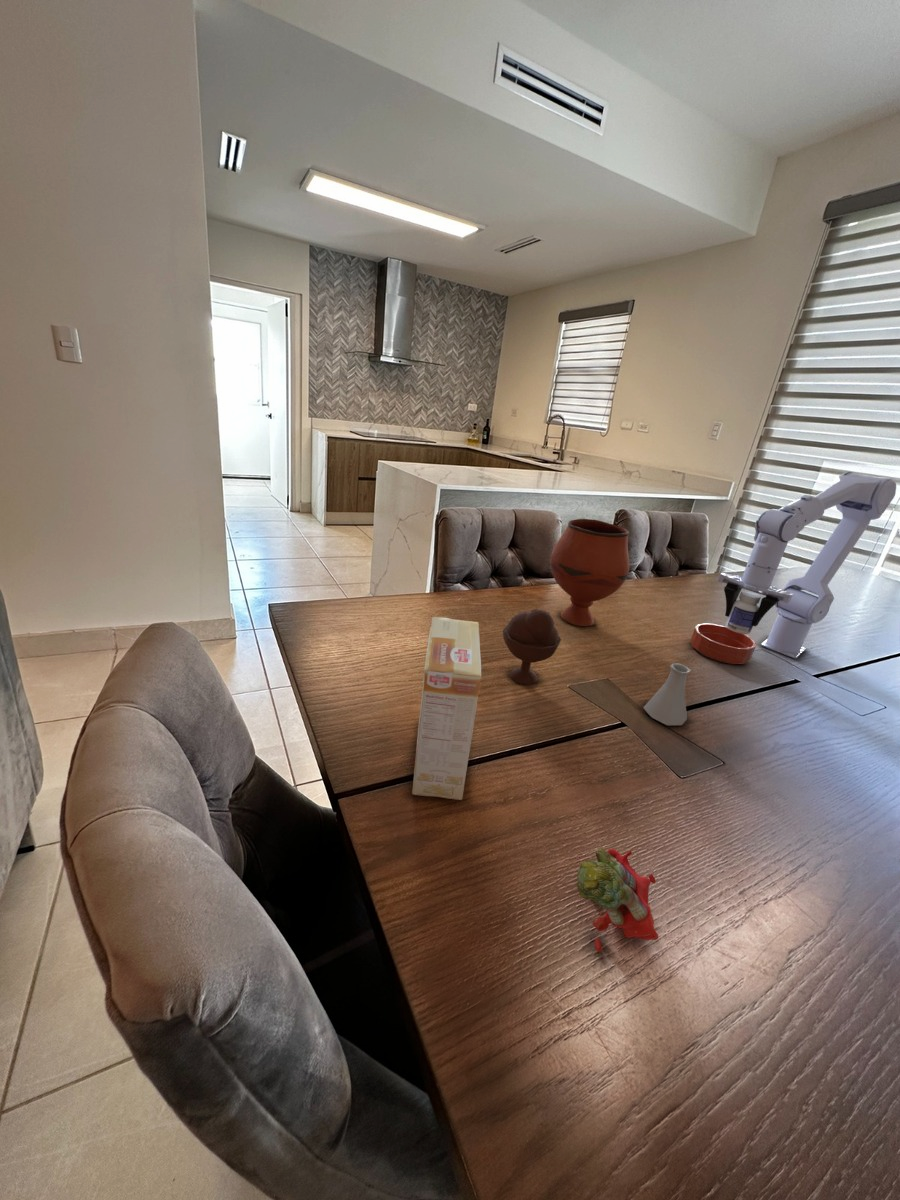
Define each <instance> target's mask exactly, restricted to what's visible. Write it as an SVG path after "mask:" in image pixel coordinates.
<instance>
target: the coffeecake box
mask: <svg viewBox="0 0 900 1200" xmlns="http://www.w3.org/2000/svg"><path fill="white" fill-rule="evenodd" d="M481 680H482V660H481V641H480V625H479V622H478V621H470V620H460V619H456V618H455V619H453V618H449V617H442V616H432V618H431V622H430V627H429V634H428V642H427V648H426V655H425V660H424V670H423V679H422V688H421V698H420V709H419V719H418V728H417V737H416V749H415V760H414V770H413V781H412V791H411V794H412V795H414V796H421V797H422V796H424V797H436V798H442V799H450V800H460V801H462V800H463V796H464V789H465V783H466V776H467V771H468V770H467V769H468V764H469V757H470V756H469V755H470V751H471V746H472V739H473V731H474V726H475V719H476V714H477V713H476V712H477V706H478V700H479V693H480V687H481Z"/></svg>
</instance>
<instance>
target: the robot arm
mask: <svg viewBox="0 0 900 1200" xmlns="http://www.w3.org/2000/svg"><path fill="white" fill-rule="evenodd" d="M896 492H897V483H896V480H895V479H894V478H893V477H880V476H876V475H875V476H873V475H867V474H861V473H854V472H852V471H845V472H843V473H841V474H840V475H837V476H836V478H835V479H834V481H833V483H832V485H831V486H829V487H827V488H826V489H824V490H823V491H821V492H819V493H818V494H816V495H811V494H810V495H808V494H804V495H801V496H800V498H798V499H796V500H794V501H792V502H791V503H788V504H786V505H785V506H783V507H780V508H779V509H775V508H771V509H768V510H764V512H762V513H761V514H760V515H759V516H758V519H756V520H755V525H754V531H755V534H754V537H753V541H754V545H753V547H752V550H751V553H750V555H749V558H748V560H747V563H746V565H745V569H744V571H743V574H742V576H739V575H735V574H731V573H730V574H729V573H726V572H721V573H719V576H718V579H717V582H719V583H722V584H723V583H724V584H726V585H725V586H724V587H723V591H724V597H725V614H724V616H725V617H727V618H728V617H729V615H730V612H731V609H732V606H733V604H734V602H735V601H736V600H738V599H739V598H738V597H739V596H740V594H741V592H742V589H743V590H746V591H748V592H751V593H754V594H758V595H762V596H764V597H762V598H761V599H760V602H759V603H760V604H759V610H758V613H757V615H756V617H755V619H754V621H753V623H752V626H753V627H757V626H758V625H759V624H760V622H761V620H762V619H763V617H764V616H765V615H766V614H768V612H769V611H770V610H771V609H772V608H773V607H776V610H775V612H776V613H778V614H777V616H776V619H775V621H774V623H773V626H772V627H771V629H770V633H769V634H768V637H767V638H766V639H765V640H764V641H762V642H761V643H760V646H761V647H764V648H766V649H769V650H772V651H774V652H776V653H779V654H781V655H785V656H787V657H789V658H792V659H798V658H799V657H800V656H801V655H802V653H803V652H805V651H806V647H805V646H803V645H804V643H805V641H806V638H807V636H808V634H809V633H810V630H811V628H812V626H813V624H817V623H819V622H821V621H822V620H824V619H825V618H826V616H827V615H828V614H829V611H830V609H831V605H832V603H833V602H834V600H835V597H834V594H833V592H832V591H831V588H830V587H829V585H830V582H831V581H832V580H833V578H834V577H835V576H836V574H837V573H838V571H839V570H840V568H841V567H842V565H843V563H844V562H845V561H846V560H847V557H848V556H849V555H850V553H851V551H852V550H853V549H854V548H855V546H856V544H857V543H858V541H859V540H860V538H861V537H862V535H863V534H864V533H865V531H866V529H867V528H868V526H869V525H870V524H871V522H872V521H873V520H877V519H878V520H879V519H880V518H881V517H882V515H883V514H884V513H885V511H886V510H887V509H888V507H889V506H890V504H891V503H892V501H893V500H894V498H895V496H896V494H897V493H896ZM833 507H836V510H837V511H839V512H840V513H841V515H842V518H841V519H840V521H839V523H838V524H837V526H836V527H835V529H834V530H833V532H832V533H831V534H830V536H829V538H828V539H827V540H826V542H825V544H824V545H823V547H822V548H821V550H820V552H819V553H818V554H817V556H816V557H815V559H814V560H813V562H812V564H811V565H810V566H809V568H808V570H807V571H806V573H805V574H804V575H803V576H801V577H800V576H799V577H797V578H792V579H789V580H788V582H787V583H786V584H785V586H783V588H778V587H775V586H773V585H772V583H773V580H774V578H775V576H776V573H777V570H778V569H779V565H780V563H781V561H782V558H783V556H784V554H785V551H786V548H787V546H788V543H789V542H790V541H793V540H794V539H795V538H797V536H798V535H799V534H800V533H801V531H803V529H805V527H806V526H809V525H810V524H812V523H814V522H816V521H817V520H820V519H821V518H822V517H823V516H824V514H825V511H826V510H829V509H830V508H833Z"/></svg>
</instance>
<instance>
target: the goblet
mask: <svg viewBox="0 0 900 1200" xmlns="http://www.w3.org/2000/svg"><path fill="white" fill-rule="evenodd" d="M629 535H630V531H629V530H628V529H626V528H625V527H622V526H618V525H616V524H613V523H609V522H605V521H602V520H598V519H591V518H589V519H588V518H577V519H571V520H569V521H568V523H567V527H566V528H565V530H564V531H563V533H561V535H560V537H559V538H558V540H557V542H556V544H555V546H554V547H553V550H552V552H551V555H550V562H549V563H550V570H551V574H552V576H553V578H554V581H555V582H556V584H557V585H558V586H559V587H560V588H561V589H562V590H563V592H565V593H566V594H567V595H569V596H570V598H569V599H570V602H571V604H570V605H569V606H567V607H565V608H564V609H563V610H562V612H560V618H561V620H563V621H564V622H567V623H569V624H572V625H574V626H579V627H588V626H593V625H594V623H595V619H594V616H593V614H592V612H591V611H590V607H591V606H593V605H594V602H597V601H600V600H602V599H605V598H607V597H609V596H611V595H613V594H614V593H616V592H617V591H618V590H620V588H621V587H622V586H623V584H624V583H625V582H626V580H627V579H628V576H629V573H630V555H629V546H628V545H629V544H628V543H629Z"/></svg>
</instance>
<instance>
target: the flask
mask: <svg viewBox="0 0 900 1200" xmlns="http://www.w3.org/2000/svg"><path fill="white" fill-rule="evenodd" d="M669 669H670V672H669V674H668V676H667V678H666V679H665V681H664V683H663V684H662V686H661V687H660V688H659V689H658V690H657V691H656V692H655V694H654V695H653V696H652V697H651V698H650V699H649V700H648V701H647V703H646V704H645V705H644V706H642V707H643V710H644V711H645V712H646V713H647V714H648V715H649V716H650V718H652V719H653V720H656V721H657V722H660V723H661V724H663V725H665V726H682V725H684V724H685V722H686V721H688V713H687V704H686V690H685V689H686V681H687V677H688V675H689V674H690V673H691V672H692V670H691V669H690V668H689V667H688V666H686V665H684V664H681V663H672V664H671V665H669Z"/></svg>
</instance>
